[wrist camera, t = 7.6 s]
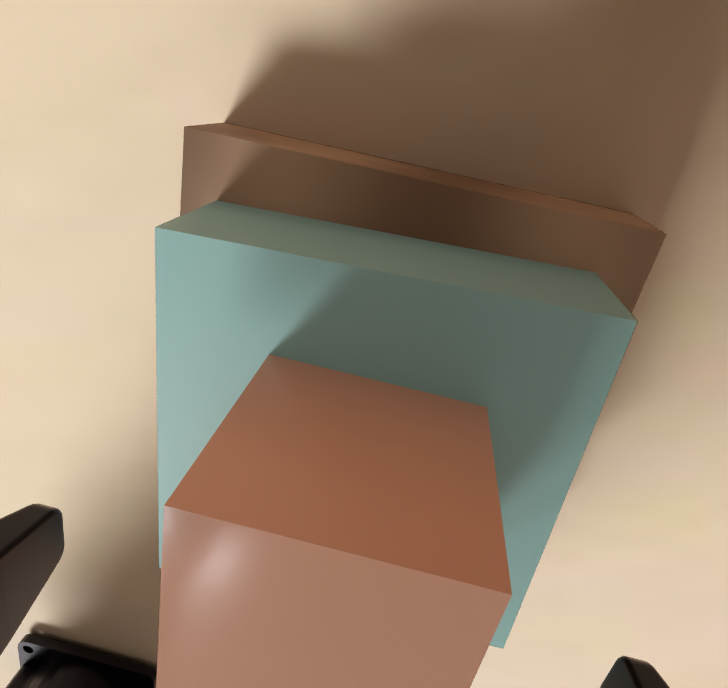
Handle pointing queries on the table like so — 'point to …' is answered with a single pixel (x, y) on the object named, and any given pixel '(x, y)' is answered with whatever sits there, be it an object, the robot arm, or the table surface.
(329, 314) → the tower top
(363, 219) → the tower base
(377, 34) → the table surface
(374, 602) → the terracotta cube
